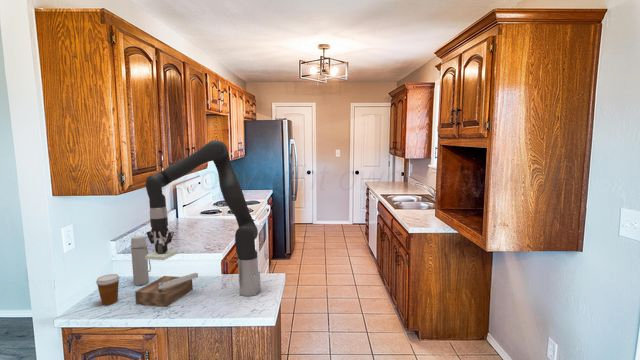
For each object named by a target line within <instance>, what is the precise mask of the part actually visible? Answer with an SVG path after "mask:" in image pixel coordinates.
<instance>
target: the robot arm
mask: <svg viewBox="0 0 640 360" xmlns="http://www.w3.org/2000/svg"><path fill="white" fill-rule="evenodd" d="M230 158H231V157H230V153H229V149H228V147H227V145H226V143H224V142H223V141H221V140H216V139H214V140H210V141H209V142H207V143H206V144H205V145H203V146H202V147H201V148H200V149H198V150H196V151H194V153H192V154H190V155H188V156H186V157H184V158H183V159H181V160H178V161H176V162H175V163H172V164H170V165H169V166H166V167H165V169H164V170H161V171H160V172H157V173H155V174H150V175H148V176H147V177H146V180H145V189H146V193H147V196H148V200H149V220H150V221H149V223H150V224H149V225H150V228H151V229H150V230H148V231H147V232H146V236H147V238H148V240H149V242H150V244H152V245H154V252H156V253H158V248H157V244H159V243H160V241H161V243H162V249H163V253H166V252H167V251H168V250H169V249H168V245H169V244H171V243H172V239H173V237H174V231H171V230H169V228H168V225H169V220H168V218H169V217H168V209H167V201H166V196H165V194H163V188H164V187H166V186H168V185H169V184H171V183H172V182H175V181H176V180H179V179H181V178H182V177H184V176H186V175H188V174H189V173H191V172H193V171H194V170H195V169H197V168H198V167H199V166H202V165H203V164H206V163H209V162H213V164H214V166H215V169H216V170H217V174H218V175H217V176H218V182H219V188H220V192H221V195H222V197H223V199H224V202H225V204H226V206H227V207H228V209H229V210H230V211H231V212H232V213H233V215H234V217H235V220H236V222H237V225H238V228H237V229H236V231H235V235H234V241H235V243H234V244H235V253H236V255H237V268H238V285H239V286H238V287H239V295H241V296H243V297H250V296H251V297H252V296H257V295H258V294H259V293H260V292H261V290H262V289H261V287H262V286H261V272H260V271H259V261H258V260H259V259H258V251H257V249H256V243H255V242H256V241H255V240H256V239H257V238H258V234H259V230H258V228H257V225H256V223H255V221H254V219H253V217H252V215H251V212H250V211H249V207H248V204H247V201H246V198H245V195H244V191H243V189H242V187H241V184H240V182H239V178H238V176H237V175H236V172H235V170H234V167H233V166H232V161H231V159H230Z"/></svg>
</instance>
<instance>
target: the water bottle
mask: <svg viewBox="0 0 640 360" xmlns="http://www.w3.org/2000/svg"><path fill="white" fill-rule="evenodd" d="M148 246H149V245H148V244H147V238H146V236H145V235H144V234H143V235H134V236H132V237H130V252H131V264H132V265H131V266H132V277H133V285H135V286H143V285H144V286H145V285H147V284H148V283H149V282H150V279H149V278H150V276H149V275H150V274H149V273H150V272H151V271H152V270H151V269H152V266H151V259H145V256H146V255H149V250H148Z"/></svg>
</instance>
